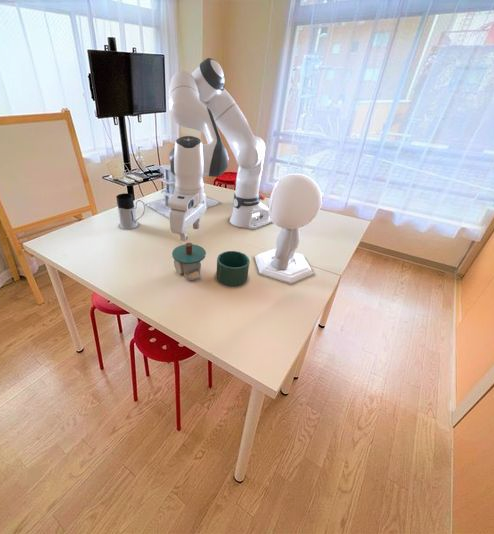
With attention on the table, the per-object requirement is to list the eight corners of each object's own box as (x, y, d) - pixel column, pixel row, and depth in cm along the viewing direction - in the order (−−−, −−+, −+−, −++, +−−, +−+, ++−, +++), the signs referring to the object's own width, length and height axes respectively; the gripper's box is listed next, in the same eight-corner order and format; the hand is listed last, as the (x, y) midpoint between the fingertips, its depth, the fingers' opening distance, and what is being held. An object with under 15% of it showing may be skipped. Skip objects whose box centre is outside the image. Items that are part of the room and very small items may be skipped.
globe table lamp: (262, 246, 118) (276, 163, 98) (318, 261, 109) (345, 172, 89) (245, 269, 104) (257, 177, 84) (307, 289, 95) (337, 190, 75)
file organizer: (145, 204, 157) (141, 165, 145) (193, 191, 176) (192, 155, 163) (171, 219, 141) (169, 177, 129) (220, 203, 159) (222, 164, 147)
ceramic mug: (172, 269, 104) (172, 253, 100) (191, 263, 108) (191, 246, 103) (186, 284, 97) (186, 267, 92) (205, 277, 100) (206, 260, 96)
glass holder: (125, 220, 140) (120, 192, 131) (150, 223, 137) (147, 194, 128) (116, 228, 133) (111, 198, 124) (143, 231, 130) (139, 201, 121)
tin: (236, 265, 106) (238, 248, 102) (253, 281, 98) (255, 263, 94) (211, 273, 103) (211, 255, 98) (226, 290, 94) (227, 271, 90)
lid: (197, 244, 105) (197, 233, 102) (211, 260, 96) (212, 248, 93) (167, 251, 101) (166, 240, 98) (179, 268, 92) (179, 257, 89)
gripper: (194, 183, 94) (194, 220, 102) (164, 204, 78) (167, 245, 86) (211, 186, 91) (210, 223, 99) (184, 208, 76) (185, 250, 84)
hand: (190, 234), depth 93 cm, fingers open, 8 cm apart
